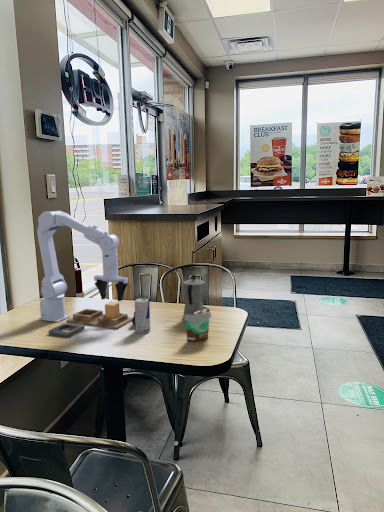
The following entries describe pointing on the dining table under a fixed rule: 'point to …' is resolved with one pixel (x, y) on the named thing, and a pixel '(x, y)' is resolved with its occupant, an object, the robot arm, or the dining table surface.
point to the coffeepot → (193, 295)
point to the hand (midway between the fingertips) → (111, 299)
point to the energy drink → (142, 315)
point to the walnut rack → (99, 319)
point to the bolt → (134, 320)
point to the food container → (198, 325)
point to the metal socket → (68, 334)
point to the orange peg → (112, 310)
